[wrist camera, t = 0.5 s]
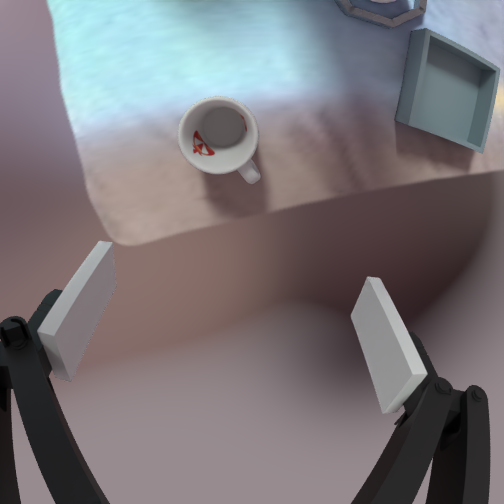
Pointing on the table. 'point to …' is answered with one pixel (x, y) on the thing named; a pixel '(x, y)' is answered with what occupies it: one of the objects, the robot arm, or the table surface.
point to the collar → (379, 20)
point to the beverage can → (383, 1)
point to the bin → (447, 90)
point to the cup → (220, 137)
